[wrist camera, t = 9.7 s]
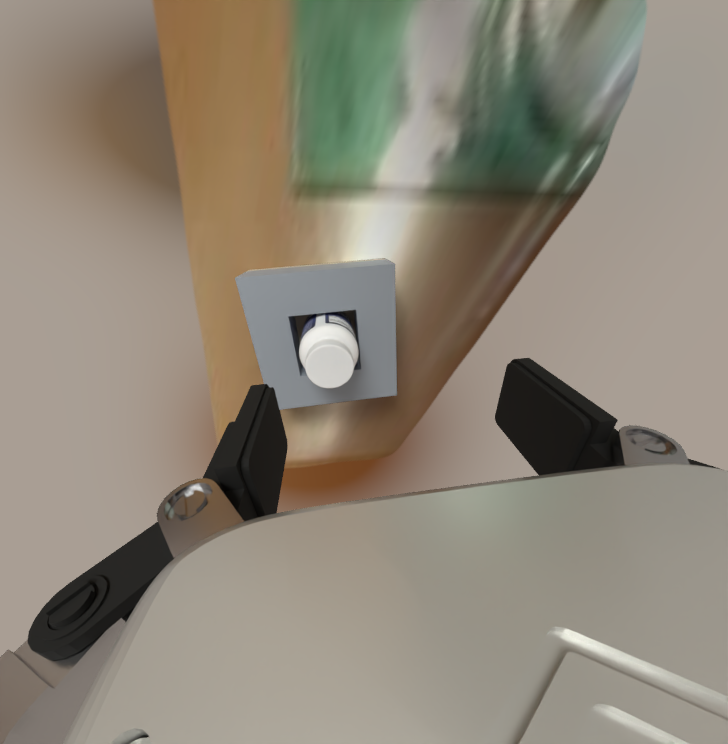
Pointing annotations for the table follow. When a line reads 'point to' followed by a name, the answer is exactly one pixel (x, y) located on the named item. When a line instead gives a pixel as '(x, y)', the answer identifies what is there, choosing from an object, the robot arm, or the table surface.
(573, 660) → the robot arm
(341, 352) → the pill bottle
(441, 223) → the table surface
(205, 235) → the table surface
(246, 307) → the socket block
